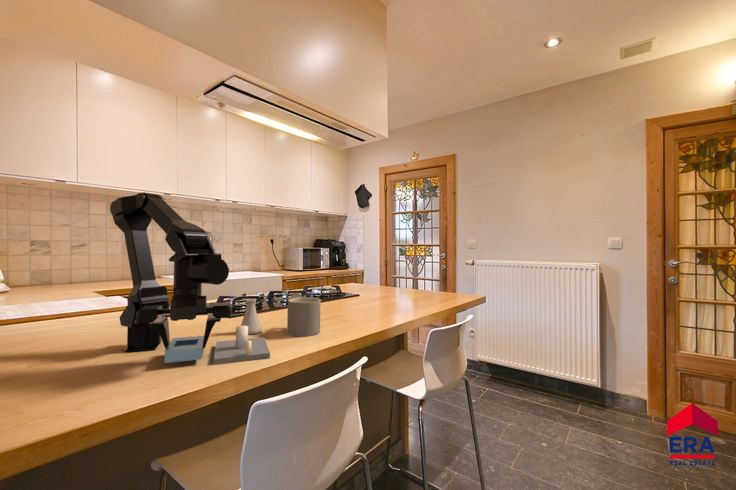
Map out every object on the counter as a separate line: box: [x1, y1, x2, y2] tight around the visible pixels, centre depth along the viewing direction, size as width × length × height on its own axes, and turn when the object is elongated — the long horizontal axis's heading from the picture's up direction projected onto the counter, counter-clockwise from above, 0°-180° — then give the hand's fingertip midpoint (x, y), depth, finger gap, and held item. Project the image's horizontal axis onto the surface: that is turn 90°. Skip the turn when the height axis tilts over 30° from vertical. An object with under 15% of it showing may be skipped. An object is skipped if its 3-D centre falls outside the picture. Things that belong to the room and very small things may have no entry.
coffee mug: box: [286, 297, 322, 338], centre depth 101 cm, size 13×10×10 cm
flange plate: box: [164, 335, 205, 364], centre depth 75 cm, size 10×7×3 cm
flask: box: [240, 298, 263, 335], centre depth 99 cm, size 7×7×10 cm
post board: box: [213, 325, 271, 365], centre depth 80 cm, size 12×14×6 cm
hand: (186, 349), depth 75 cm, fingers closed on flange plate, 7 cm apart
